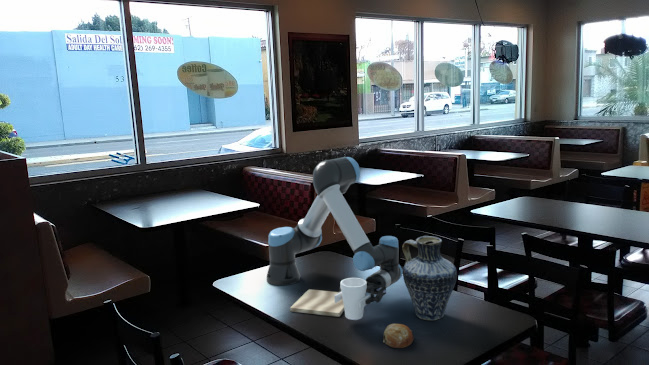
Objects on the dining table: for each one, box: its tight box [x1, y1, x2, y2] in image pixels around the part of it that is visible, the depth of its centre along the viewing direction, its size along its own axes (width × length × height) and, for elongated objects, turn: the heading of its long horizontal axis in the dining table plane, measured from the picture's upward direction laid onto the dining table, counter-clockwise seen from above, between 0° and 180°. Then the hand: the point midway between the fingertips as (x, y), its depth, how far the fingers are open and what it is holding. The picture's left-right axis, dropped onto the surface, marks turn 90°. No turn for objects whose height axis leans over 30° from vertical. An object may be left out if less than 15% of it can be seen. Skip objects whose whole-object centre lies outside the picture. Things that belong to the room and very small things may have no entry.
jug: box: [401, 235, 458, 321], centre depth 195 cm, size 21×19×30 cm
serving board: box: [290, 288, 345, 318], centre depth 212 cm, size 20×20×2 cm
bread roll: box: [382, 323, 414, 349], centre depth 178 cm, size 10×10×8 cm
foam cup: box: [339, 277, 367, 321], centre depth 192 cm, size 10×9×13 cm
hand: (347, 302), depth 188 cm, fingers closed on foam cup, 9 cm apart
